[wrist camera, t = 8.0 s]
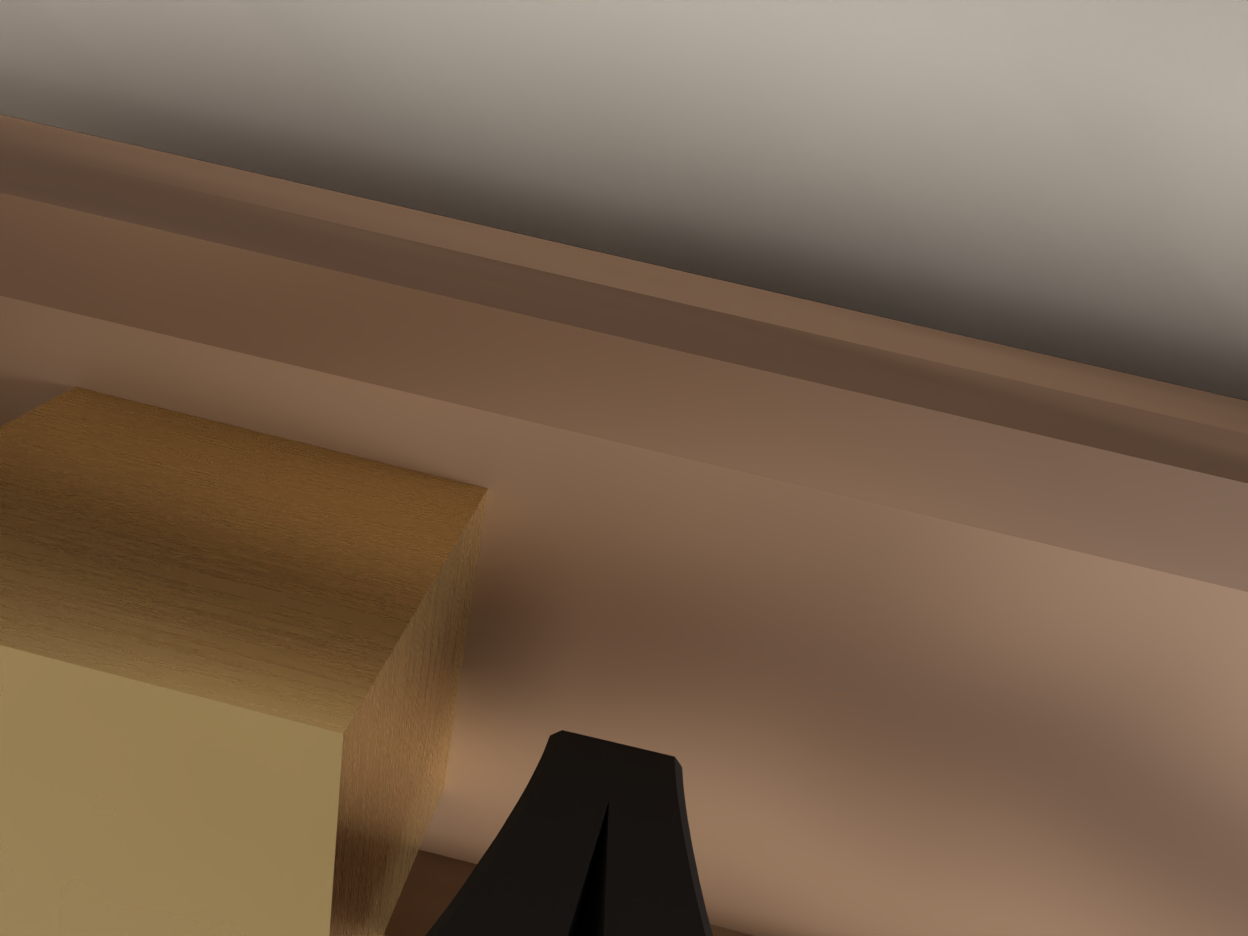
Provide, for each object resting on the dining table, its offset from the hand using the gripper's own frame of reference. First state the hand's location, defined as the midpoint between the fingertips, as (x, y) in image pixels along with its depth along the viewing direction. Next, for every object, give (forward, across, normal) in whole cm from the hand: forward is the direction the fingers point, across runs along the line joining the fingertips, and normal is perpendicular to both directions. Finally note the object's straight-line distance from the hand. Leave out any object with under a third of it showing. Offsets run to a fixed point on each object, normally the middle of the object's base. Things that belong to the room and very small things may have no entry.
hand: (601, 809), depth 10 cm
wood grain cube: (+2, +5, 0) cm, 5 cm away
